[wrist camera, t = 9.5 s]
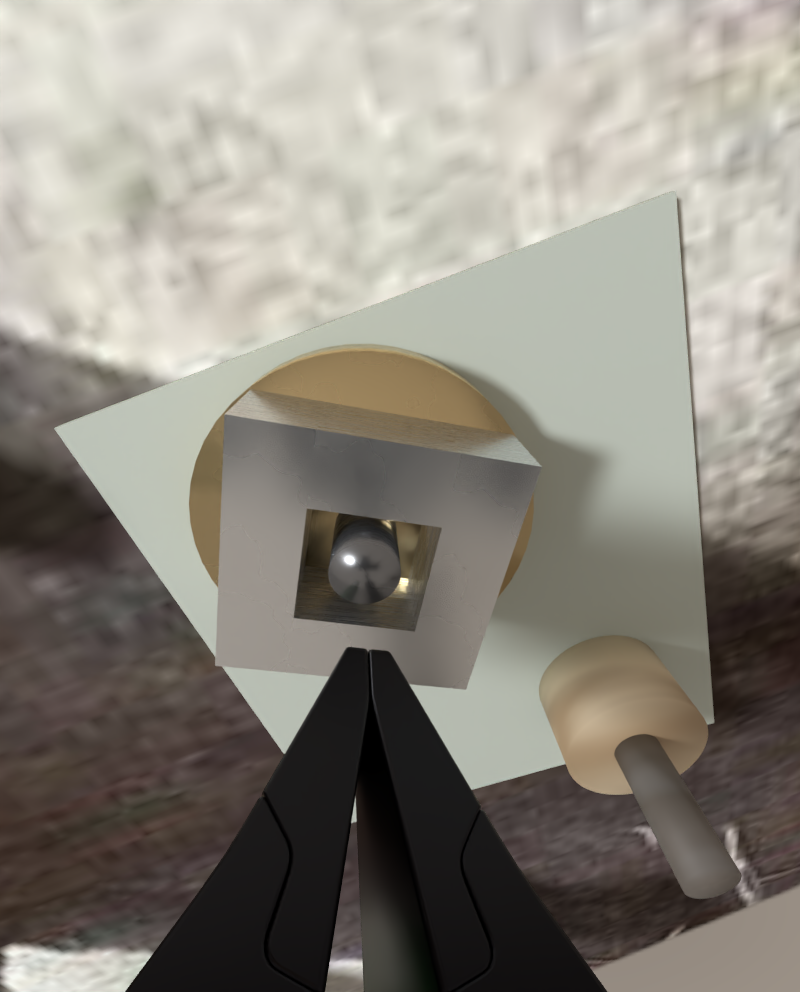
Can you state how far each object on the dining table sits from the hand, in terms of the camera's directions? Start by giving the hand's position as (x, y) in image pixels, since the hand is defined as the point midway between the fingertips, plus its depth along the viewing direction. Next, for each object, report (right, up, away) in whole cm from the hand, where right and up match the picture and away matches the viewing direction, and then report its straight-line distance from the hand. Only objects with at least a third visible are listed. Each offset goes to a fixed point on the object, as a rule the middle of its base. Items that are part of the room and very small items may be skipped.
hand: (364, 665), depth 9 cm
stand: (+9, -4, +10) cm, 14 cm away
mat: (+3, -1, +8) cm, 9 cm away
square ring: (0, +2, +5) cm, 5 cm away
